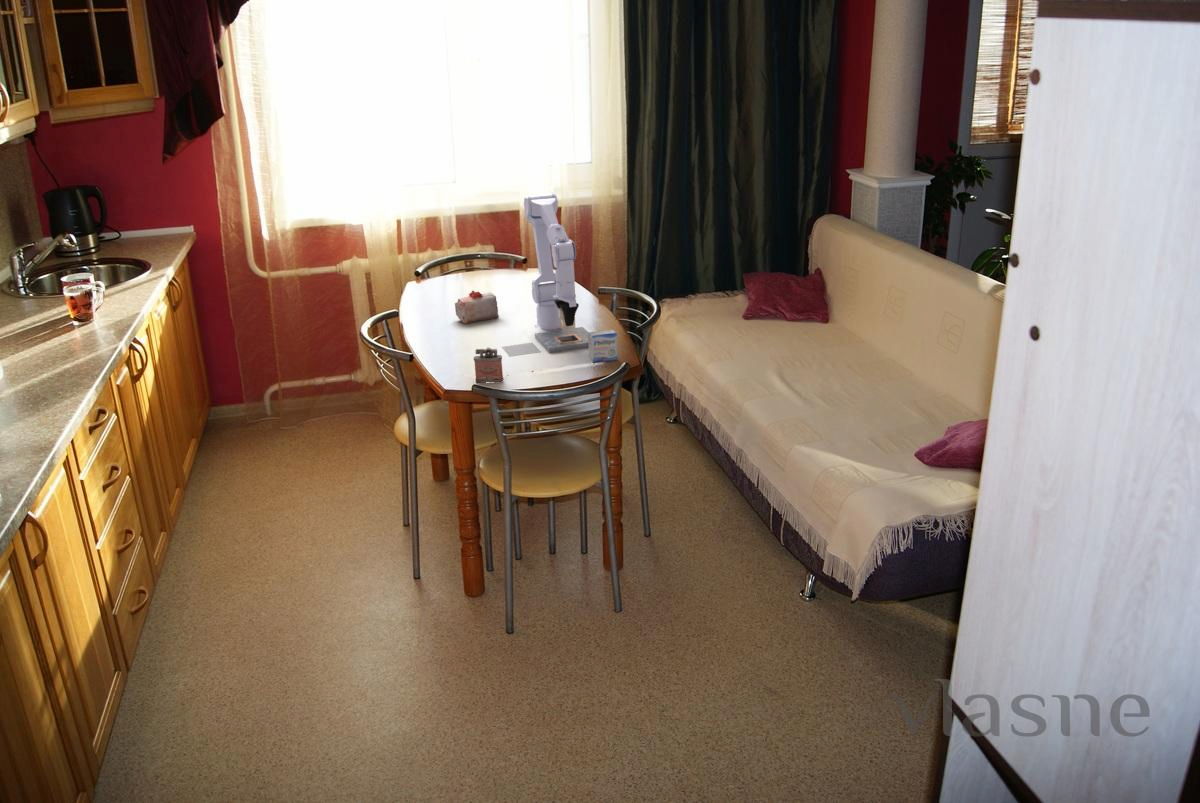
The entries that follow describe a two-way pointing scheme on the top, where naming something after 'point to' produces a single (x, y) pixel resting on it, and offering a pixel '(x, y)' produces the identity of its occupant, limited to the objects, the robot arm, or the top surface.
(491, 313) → the food item
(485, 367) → the lighter
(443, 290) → the top surface
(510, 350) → the gray square plate
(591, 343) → the medicine box
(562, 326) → the peg
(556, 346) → the hole plate
